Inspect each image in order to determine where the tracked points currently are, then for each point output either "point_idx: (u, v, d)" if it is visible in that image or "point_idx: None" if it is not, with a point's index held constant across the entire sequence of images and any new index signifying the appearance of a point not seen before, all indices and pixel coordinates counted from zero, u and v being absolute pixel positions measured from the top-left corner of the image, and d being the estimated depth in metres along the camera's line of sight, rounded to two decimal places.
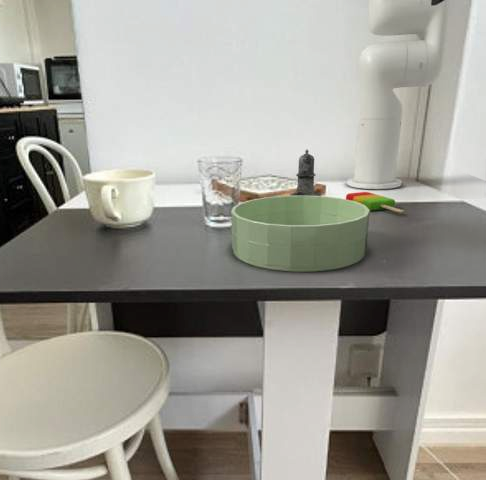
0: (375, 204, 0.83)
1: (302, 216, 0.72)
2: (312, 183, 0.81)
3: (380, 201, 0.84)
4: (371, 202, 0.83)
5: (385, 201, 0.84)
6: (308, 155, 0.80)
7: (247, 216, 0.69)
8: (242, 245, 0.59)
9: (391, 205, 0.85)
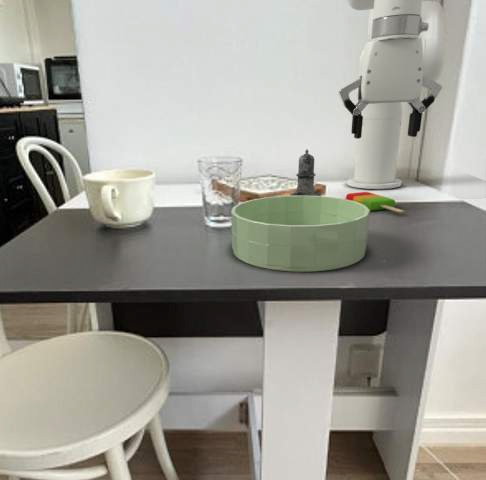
0: (375, 204, 0.83)
1: (302, 216, 0.72)
2: (312, 183, 0.81)
3: (380, 201, 0.84)
4: (371, 202, 0.83)
5: (385, 201, 0.84)
6: (308, 155, 0.80)
7: (247, 216, 0.69)
8: (242, 245, 0.59)
9: (391, 205, 0.85)
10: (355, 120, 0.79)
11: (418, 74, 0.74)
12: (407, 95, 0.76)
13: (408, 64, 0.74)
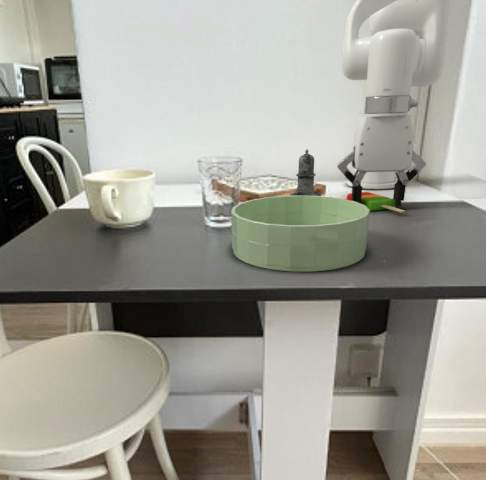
0: (376, 204, 0.83)
1: (302, 216, 0.72)
2: (312, 183, 0.81)
3: (381, 201, 0.84)
4: (372, 202, 0.83)
5: (386, 201, 0.84)
6: (308, 155, 0.80)
7: (247, 216, 0.69)
8: (242, 245, 0.59)
9: (392, 205, 0.84)
10: (355, 190, 0.84)
11: (408, 147, 0.79)
12: (398, 166, 0.81)
13: (398, 138, 0.79)
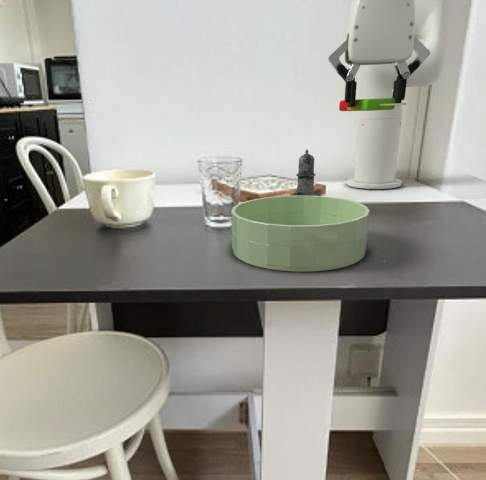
0: (373, 102, 0.72)
1: (302, 216, 0.72)
2: (312, 183, 0.81)
3: (379, 99, 0.73)
4: (368, 100, 0.72)
5: (384, 99, 0.73)
6: (308, 155, 0.80)
7: (247, 216, 0.69)
8: (242, 245, 0.59)
9: (391, 105, 0.73)
10: (348, 87, 0.73)
11: (410, 30, 0.68)
12: (398, 53, 0.70)
13: (399, 18, 0.68)
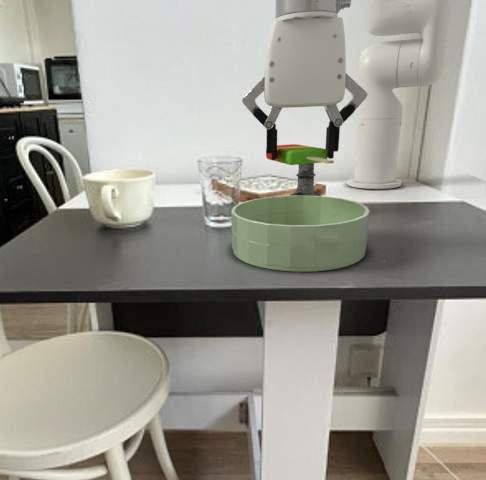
0: (298, 155, 0.58)
1: (302, 216, 0.72)
2: (312, 183, 0.81)
3: (305, 151, 0.58)
4: (292, 152, 0.58)
5: (313, 151, 0.58)
6: None
7: (247, 216, 0.69)
8: (242, 245, 0.59)
9: (322, 157, 0.59)
10: (268, 136, 0.59)
11: (339, 68, 0.54)
12: (325, 97, 0.55)
13: (324, 54, 0.53)
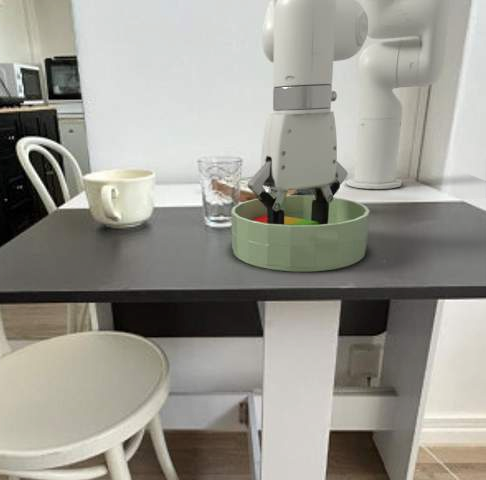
0: None
1: (302, 216, 0.72)
2: None
3: None
4: None
5: None
6: None
7: (247, 216, 0.69)
8: (242, 245, 0.59)
9: None
10: (274, 216, 0.61)
11: (333, 154, 0.60)
12: (324, 179, 0.61)
13: (324, 143, 0.58)
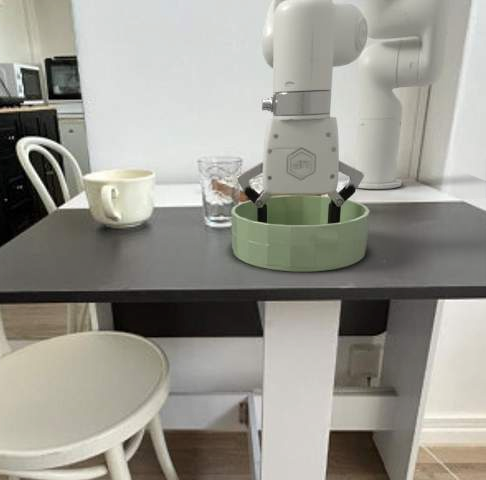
0: None
1: (302, 216, 0.72)
2: None
3: None
4: None
5: None
6: None
7: (247, 216, 0.69)
8: (242, 245, 0.59)
9: None
10: None
11: None
12: None
13: None
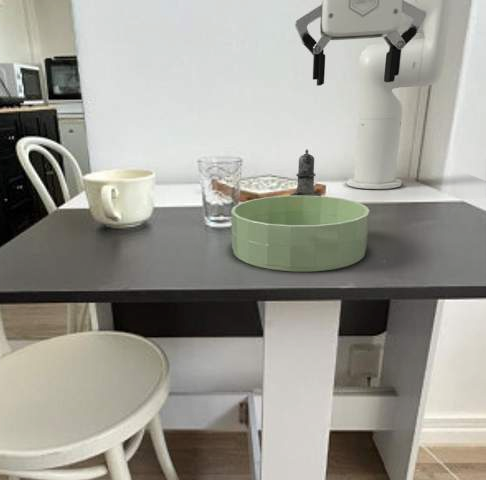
0: None
1: (302, 216, 0.72)
2: (312, 183, 0.81)
3: None
4: None
5: None
6: (308, 155, 0.80)
7: (247, 216, 0.69)
8: (242, 245, 0.59)
9: None
10: None
11: None
12: None
13: None
